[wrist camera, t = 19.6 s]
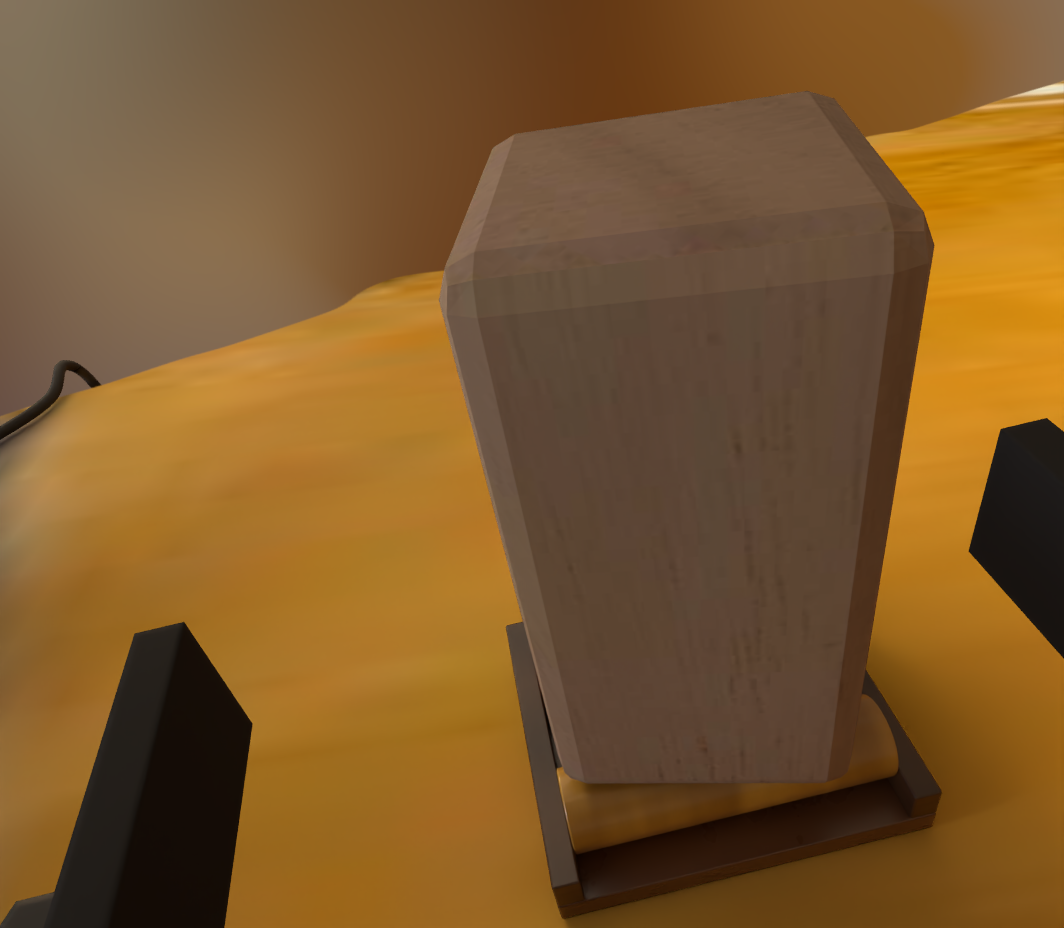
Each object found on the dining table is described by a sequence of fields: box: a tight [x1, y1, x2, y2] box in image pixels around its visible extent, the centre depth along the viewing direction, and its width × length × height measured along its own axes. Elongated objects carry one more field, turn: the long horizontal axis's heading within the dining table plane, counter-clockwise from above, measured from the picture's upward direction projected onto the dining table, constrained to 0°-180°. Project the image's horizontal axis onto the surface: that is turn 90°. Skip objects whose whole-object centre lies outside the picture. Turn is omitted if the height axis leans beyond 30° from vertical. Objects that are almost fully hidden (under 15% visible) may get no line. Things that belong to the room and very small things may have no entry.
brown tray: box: [506, 622, 942, 918], centre depth 32 cm, size 12×14×4 cm
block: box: [439, 91, 934, 784], centre depth 25 cm, size 10×10×20 cm
